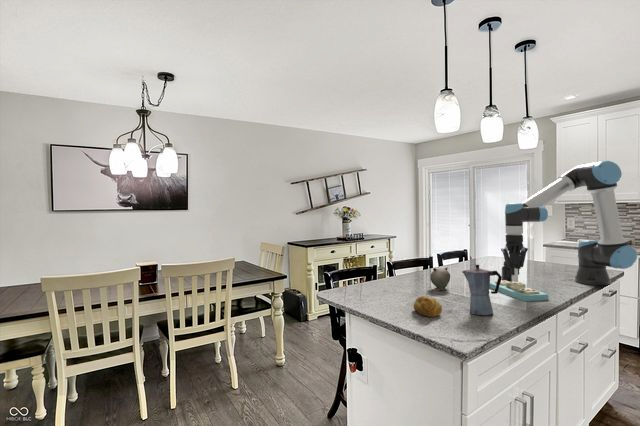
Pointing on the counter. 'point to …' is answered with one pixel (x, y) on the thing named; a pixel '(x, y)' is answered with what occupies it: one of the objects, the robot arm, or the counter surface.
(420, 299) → the bread roll
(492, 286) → the teal puzzle board
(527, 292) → the key three
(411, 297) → the counter surface
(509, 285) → the key two
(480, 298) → the moka pot
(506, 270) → the supplement bottle
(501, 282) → the key one
